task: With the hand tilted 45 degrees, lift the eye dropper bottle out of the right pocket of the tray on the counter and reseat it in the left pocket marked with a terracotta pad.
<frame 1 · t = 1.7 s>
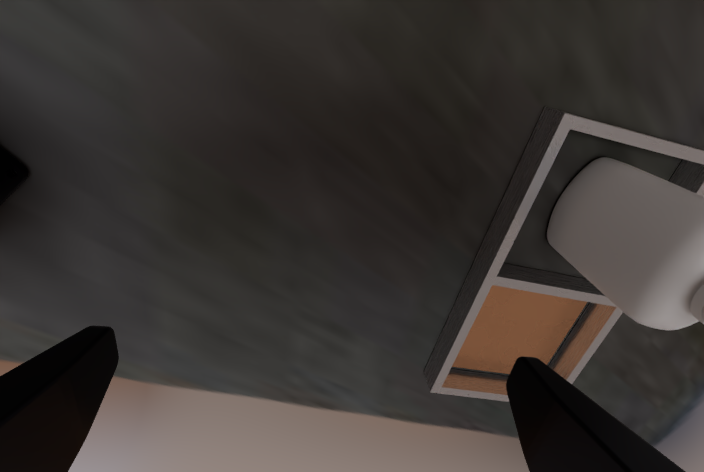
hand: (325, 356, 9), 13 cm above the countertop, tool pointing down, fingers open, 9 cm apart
eye dropper bottle: (581, 202, 22), resting in tray
tray: (543, 275, 24), on the countertop
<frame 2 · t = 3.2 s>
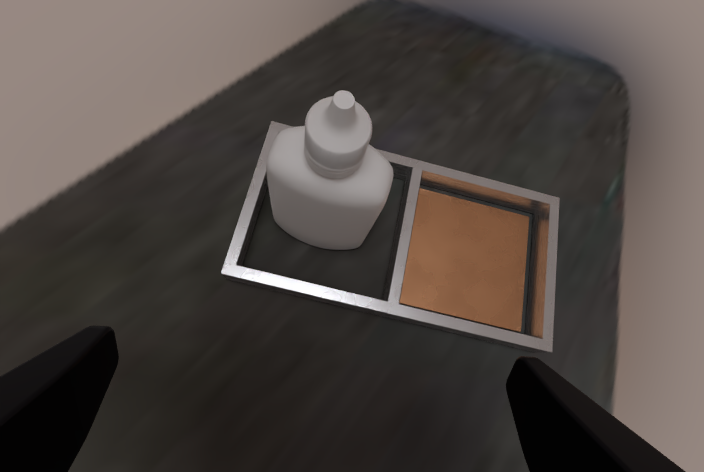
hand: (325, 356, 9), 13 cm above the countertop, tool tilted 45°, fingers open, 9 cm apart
eye dropper bottle: (321, 222, 24), resting in tray
tray: (398, 240, 24), on the countertop
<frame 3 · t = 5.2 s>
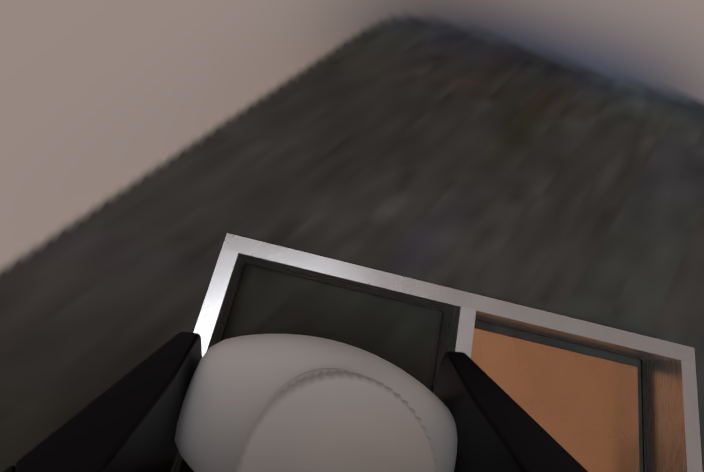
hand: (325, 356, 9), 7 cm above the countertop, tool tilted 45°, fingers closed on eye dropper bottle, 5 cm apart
eye dropper bottle: (309, 393, 15), resting in tray, touching gripper
tray: (435, 421, 15), on the countertop
when the fingers open (8 cm above the countertop, at t = 8.8 s): eye dropper bottle drops 1 cm, resting on tray.
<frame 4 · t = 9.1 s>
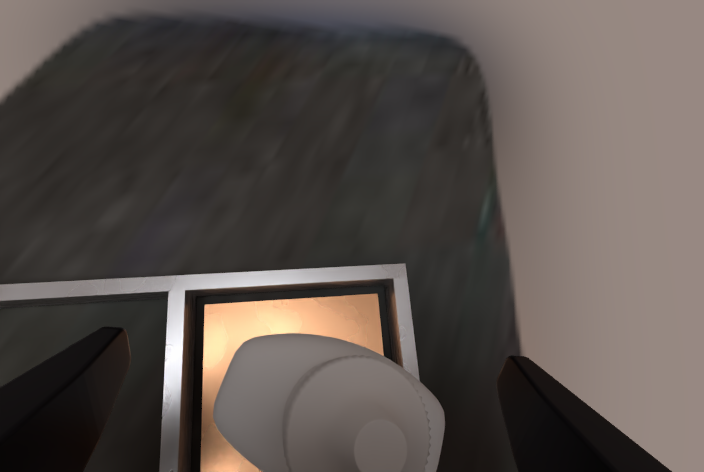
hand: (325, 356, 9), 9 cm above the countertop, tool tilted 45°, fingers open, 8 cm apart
eye dropper bottle: (311, 396, 16), resting on tray
tray: (185, 401, 16), on the countertop
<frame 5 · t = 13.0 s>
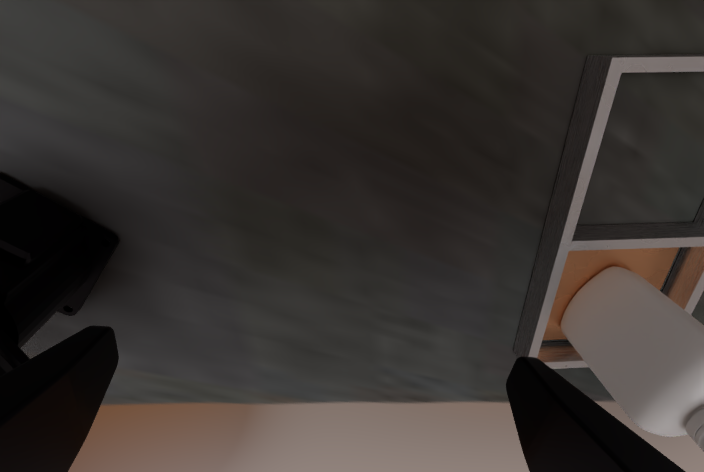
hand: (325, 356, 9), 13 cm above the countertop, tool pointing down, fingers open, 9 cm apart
eye dropper bottle: (593, 298, 25), resting on tray
tray: (622, 228, 23), on the countertop
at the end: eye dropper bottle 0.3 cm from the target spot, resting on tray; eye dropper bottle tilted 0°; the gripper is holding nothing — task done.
